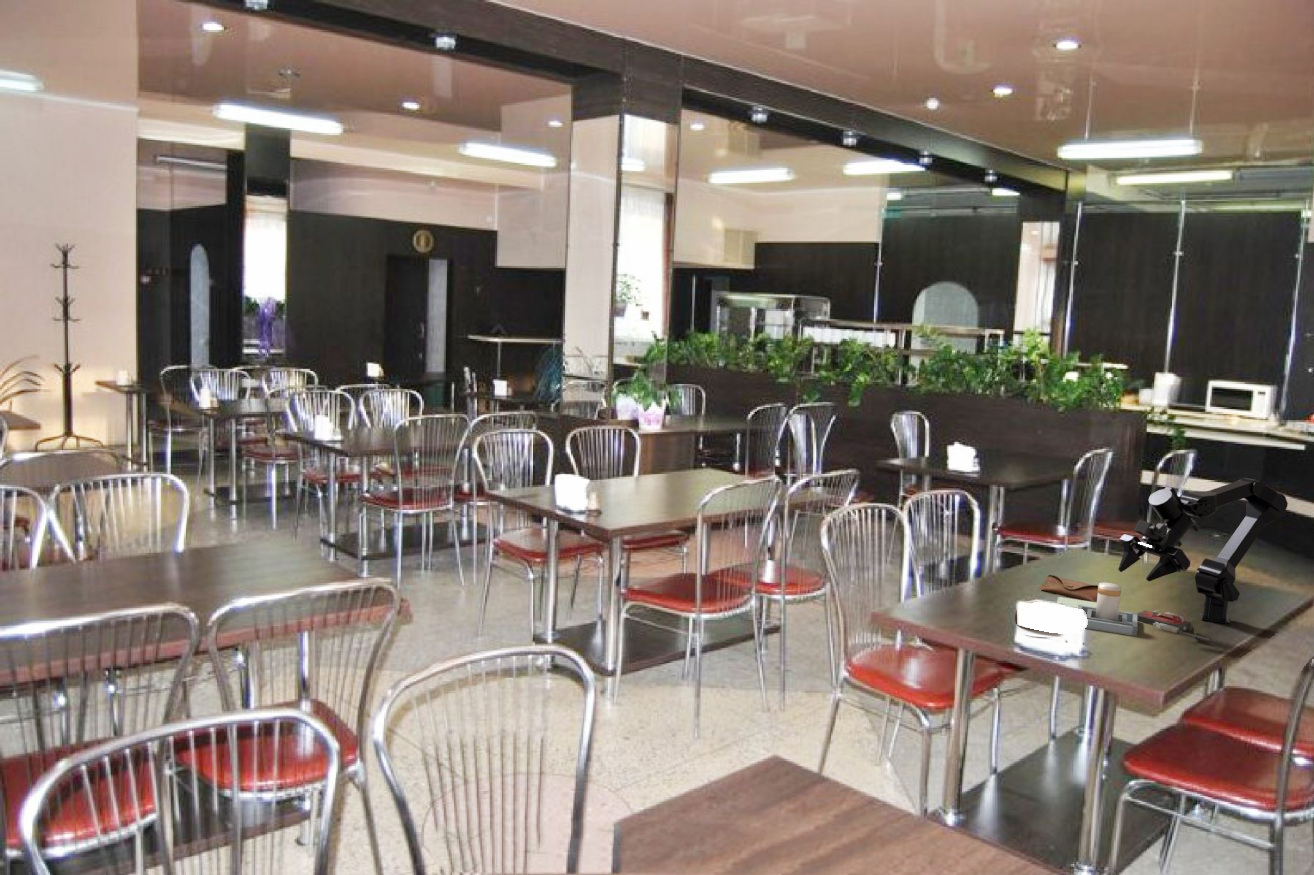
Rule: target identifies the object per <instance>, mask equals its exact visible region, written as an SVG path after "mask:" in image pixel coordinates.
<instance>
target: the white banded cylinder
mask: <svg viewBox="0 0 1314 875" xmlns="http://www.w3.org/2000/svg"><path fill="white" fill-rule="evenodd" d="M1121 594H1122V586H1121V585H1120V584H1117V583H1111V582H1099V583H1098V596H1097V606H1096V616H1095V618H1098V619H1105V620H1111V621H1118V613H1119V611H1120V604H1121V603H1120V601H1121Z"/></svg>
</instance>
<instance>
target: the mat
mask: <svg viewBox="0 0 1314 875" xmlns="http://www.w3.org/2000/svg"><path fill="white" fill-rule="evenodd" d="M1056 600H1057V601H1056V604H1057V603H1063V604H1065V605H1067V606H1073V607H1077V608H1078V605H1082V606H1089V607H1096V606H1097V602H1090V601H1083V600H1079V599H1074V598H1070V597H1064V596H1057V599H1056Z"/></svg>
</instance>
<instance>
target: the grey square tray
mask: <svg viewBox="0 0 1314 875" xmlns="http://www.w3.org/2000/svg"><path fill="white" fill-rule="evenodd" d="M1078 609H1083V610H1084V611H1085V612H1086V614H1087V619H1088V625H1087V628H1086V629H1089V630H1094V631H1101V632H1106V633H1107V632H1108V633H1112V634H1113V633H1114V634H1119V635H1127V636H1133V637H1137V636H1138V635H1137V634H1138V621H1137V614H1138V613H1134V612H1127V611H1120V610H1119V613H1118V621H1111V620H1105V619H1098V618H1095V616H1096V607H1089V606H1082V605H1078Z"/></svg>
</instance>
